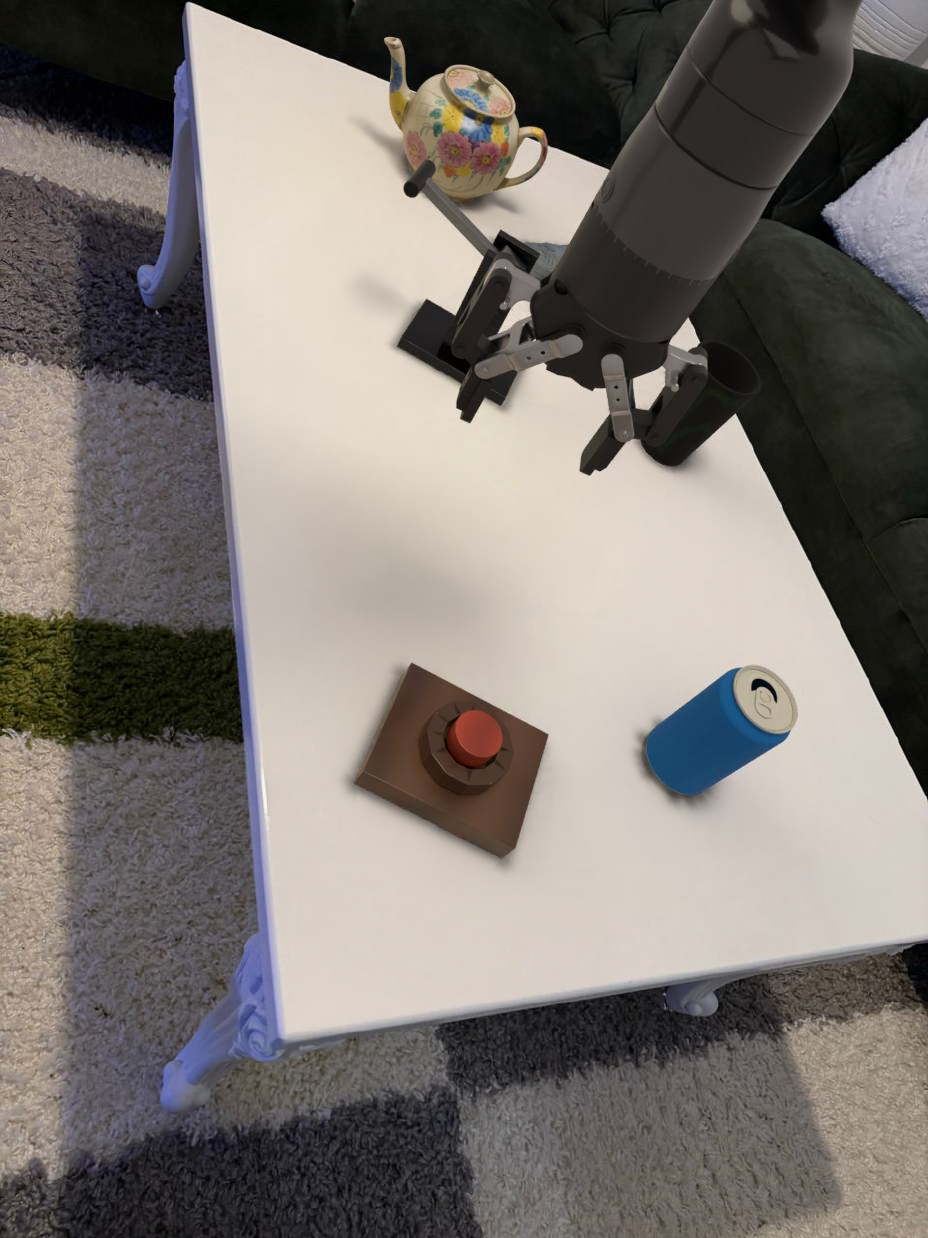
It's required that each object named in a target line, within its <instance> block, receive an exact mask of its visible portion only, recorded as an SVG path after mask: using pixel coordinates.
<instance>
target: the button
mask: <svg viewBox="0 0 928 1238" xmlns="http://www.w3.org/2000/svg"><path fill="white" fill-rule="evenodd" d="M502 740H503V736H502V731H501V729H500V726H499V725H498V723H497V722H496V721H495V719H494V718H492V717H491V716H490V715H488V714H487V713H485V712H482V711H478V710H471V711H467V712H465V713H463V714H462V715H461V716H460V717H459V718H458V719H457V720H456V721H455V722H454V724H453V725H452V726H451V727H450V728H449V730H448V733H447V737H446V741H447V746H448V749H449V751H450V753H451V755H452V756H453V757H454V758H455V759H456V760H457V761H458V762H460V763H461V764H463V765H466V766H470V767H478V766H482V765H484V764H485V763H487V762H488V761H489V760H490V759H491V758H492V757H493V756H494V755H495V754H496V753H497V752H498V751H499V750H500V748H501V745H502Z"/></svg>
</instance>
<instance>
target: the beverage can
mask: <svg viewBox="0 0 928 1238" xmlns="http://www.w3.org/2000/svg"><path fill="white" fill-rule="evenodd" d="M798 718H799V709H798V704H797V701H796V698H795V696H794V694H793V692H792V690H791V689H790V687H789V686H788V684H787V683H786V682H785V681H784V679H782V678H781V676H779V675H778V674H777V673H776V672H774V671H773V670H771V669H770V668H768V667H766V666H762V665H759V664H747V665H744V666H742V667H735V668H731V669H729V670H728V671H727V672H725V673H723V674H722V675H721V676H720V677H718V678H717V679H716V680H714V681H713V682H712V683H711V684H709V685H708V686H707V687H705V688H704V689H702V690H701V691H700V692H699V693H697V694H696V695H695V696H693V697H692V698H691V699H690V700H688V701H687V702H686V703H684V704H683V705H682V706H681V707H679V708H677V709H676V710H675V711H674V712H672V713H671V714H670V715H669V716H667V717H666V718H665V719H663V720H662V721H661V722H660V723H658V724H657V725H656V726H654V727H653V728H652V729H651V731H650V732H649V734H648V735H647V738H646V742H645V751H646V753H645V754H646V757H647V761H648V763H649V766H650V768H651V770H652V772H653V773H654V774H655V776H656V777H657V778H658V780H659V781H661V783H662V784H663V785H665V786H666V787H667V788H669V789H670V790H672V791H673V792H675V793H677V794H681V795H685V796H695V795H699V794H701V793H704V792H705V791H706V790H708V789H709V788H711V787H713V786H715V785H716V784H718V783H719V782H721V781H723V780H724V779H726V778H727V777H729V776H731V775H732V774H734V773H736V772H737V771H739V770H740V769H742V768H743V767H745V766H747V765H749V764H750V763H751V762H754V761H755V760H756V759H758V758H760V757H761V756H763V755H764V754H766V753H767V752H769V751H772V750H773V749H774V748H776V747H777V746H779V745H781V744H782V743H784V742H785V741H786V740H787V739H788V737H789V736H790V734H791V731H792V729H794V727H795V726H796V724H797V721H798Z"/></svg>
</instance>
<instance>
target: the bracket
mask: <svg viewBox="0 0 928 1238" xmlns="http://www.w3.org/2000/svg"><path fill="white" fill-rule="evenodd" d="M524 243H525V242H523V241H521V240H519V239H517V238H516V237H514V236H513V235H511V234H509V233H507V231H504V230H503V229H499V231H498V232H497V234H496V236H495V238H494V240H493V242H492V244H493V245H494V246H495V247H496V248H497V249H498V250H499V251H501V250H502V249H503V248H504V247H505V246H506V245H507V246H508V247H509V248H510V249H511V250H512V251H513V252H514V253H515V254H516V255H517V256H518V257H519V259H520V260H521V261H522V262H523V263H524V264H525V265H526V266H527V268H526V270H524V269H522V268H520V267H519V266H517V265H515V267H516V268H518V269H520V270H521V271H523V272H525V273H527V274H528V275H530V272H531V271H532V269H533V267H534V265H535V263H536V261H537V259H538V258H539V256H540V253H539V252H537V251H536V250H534V249H532V248H531V247H529V246H527V245H526V244H524ZM496 255H497V253H495V252H494V251H492V250H490V249H488V250H487V252H486V254H485V256H484V257H482V259H481V262H480V264H479V266H478V268H477V270H476V272H475V274H474V276H473V278H472V280H471V282H470V285H469V286H468V289H467V291H466V293H465V295H464V296H463V298H462V301H461V303H460V305H459V307H458V309H457V311H456V313H455V314H454V313H453V312H451V311H449V310H448V309H446V308H444V307H442V306H441V305H438V304H437V303H436V302H433V301H432V300H430V299H428V298H425V300H424V302H423V303H422V304H421V306H420V308H419V309H418V310H417V312H416V313H415V315H414V317H413V318H412V320H411V321H410V322H409V324H408V325H407V327H406V329H405V330H404V332H403V334H402V335H401V337H400V338H399V340H398V343H397V345H396V347H398V348H399V349H401V350H402V351H405V352H406V353H407V354H409V355H411V356H413V357H415V358H416V359H418V360H420V361H421V362H423V363H425V364H427V365H429V366H430V367H432V368H434V369H435V370H437V371H438V372H441V373H443V374H444V375H446V376H448V377H449V378H450V379H453V380H455V381H456V382H457V383H460V384H462V383H463V381H464V379H465V377H466V375H467V373H468V371H469V369H470V367H471V365H470V363H469V362H468V361H467V360H466V359H465V358H464V359H460V358H457V357H455V356H454V355H453V354H452V352H451V345H452V341H453V339H454V337H455V334H456V327H457V324H458V321H459V319H460V318H461V316H462V314H463V313H464V311H465V309H466V307H467V306H468V304H469V302H470V300H471V299H472V297H473V295H474V293H475V292H476V290H477V288H478V286H479V285H480V283H481V281H482V279H483V278H484V276H485V274H486V272H487V271H488V269H489V267H490V266H491V264H492V262H493V260H494V259H495V257H496ZM512 308H513V307H511V308H508V309H506V310H501V309H500V308H498V309H497V311H496V313H495V314H494V316H493V318H492V319H491V321H490V323H489V324H488V326H487V327H486V329H485V331H484V332H483V334H484V335H485V336H486V337H487V338H488V337H491V336H493V335H496V334H498V333H500V330H501V328H502V326H503V324H504V323H505V321H506V319H507V317H508V315H509V313H510V312H511V310H512ZM518 373H519V372H517V371H515V370H510V371H507V372H505V373H502V374H499V375H497V376H494V379H493V384H492V386H491V388H490V389H489V391H488V393H487V395H486V397H485V399H488V400H489V401H491V402H493V403H495V404H496V405H498V406H502V405H503V404H504V402H505V401H506V399H507V397H508V395H509V392H510V390H511V388H512V386H513V384H514V382H515V379H516V377H517V375H518Z"/></svg>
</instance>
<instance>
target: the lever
mask: <svg viewBox="0 0 928 1238" xmlns="http://www.w3.org/2000/svg"><path fill="white" fill-rule="evenodd" d="M435 172H436V166H435V164H434V163H433V162H432V161H431V160H424V161H423V162H422V163H421V165H420V166H419V167H418V168H417V169H416V171H415V172H414V173H413V174H412V173H411V175H410V176H409V178H408V179H407V180H406V181H405V183H404V184H403V187H402V189H403V193H404V194H405V196H406V197H408V198H410V199H414V198H416V197H417V196H419V194H420V193H422V194H423V195H424V196H425V197H426V198H427V199H428V200H429V201H430V203H431V204H432V205H433V206H434V207H435V208H436V209H437V210H438V211H439V212H440V213H441V214H442V215H443V216H444V217H445V218H446V220H447V221H449V222H450V223H451V224H452V225H453V227H455V229H457V231H458V232H459V233H460V234H461V235H462V236H463V237H464V238H465V239H466V240H467V241H468V242H469V243H470V244H471V245H472V247H474V248H475V250H476V251H478V252H479V254H480V255H481V256H482V258H484V256H485V254H486V252H487V250H488V249H490V250H492V251H494V252H495V253H497V254H499V253H501V252H507V253H510V254H511V255H512V256H513V257H514V258H515V262H516V264H515V265H517V266H519V267H520V268H522V269H524V270H526V268H527V266H526V265H525V264H524V263H523V262H522V261H521V260H520V259H519V257H518V256H517V255H516V254H515V253H514V252H513V251H512V250H511V249H510V248H509V247H508V246H507V245H506V246H505V247H504V248H503V249H502V250H501V251H499V250H498V249H497V248H496V247H495V246H494V245H493V242H491V241H490V240H489V238H487V237H486V235H485V234H484V233H483V232H482V231H481V230H480V229H479V228H478V227H477V226H476V225H475V224H474V222H472V221H471V220H470V218H469V217H468V216H467V215H466V214H465V213H464V212H463V211H462V209H460V208H459V207H458V206H457V205H456V203H455V202H453V201H451V199H450V198H449V197H448V196H447V195H446V194H445V193H444V192H443V191H442V190H441V189H440V188H439V187H438V186H437V185H436V184H435V182H434V181H433V180H432V179H431V178H432V176H433V175H434V174H435Z"/></svg>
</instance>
